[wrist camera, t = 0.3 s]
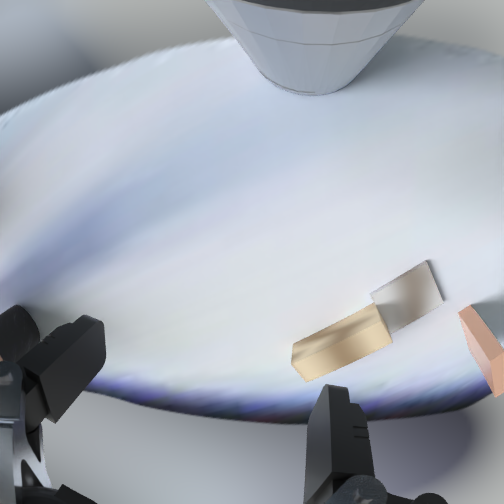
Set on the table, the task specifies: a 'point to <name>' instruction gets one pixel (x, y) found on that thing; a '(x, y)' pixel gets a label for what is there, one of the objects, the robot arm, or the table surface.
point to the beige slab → (368, 324)
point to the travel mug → (17, 334)
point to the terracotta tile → (484, 348)
